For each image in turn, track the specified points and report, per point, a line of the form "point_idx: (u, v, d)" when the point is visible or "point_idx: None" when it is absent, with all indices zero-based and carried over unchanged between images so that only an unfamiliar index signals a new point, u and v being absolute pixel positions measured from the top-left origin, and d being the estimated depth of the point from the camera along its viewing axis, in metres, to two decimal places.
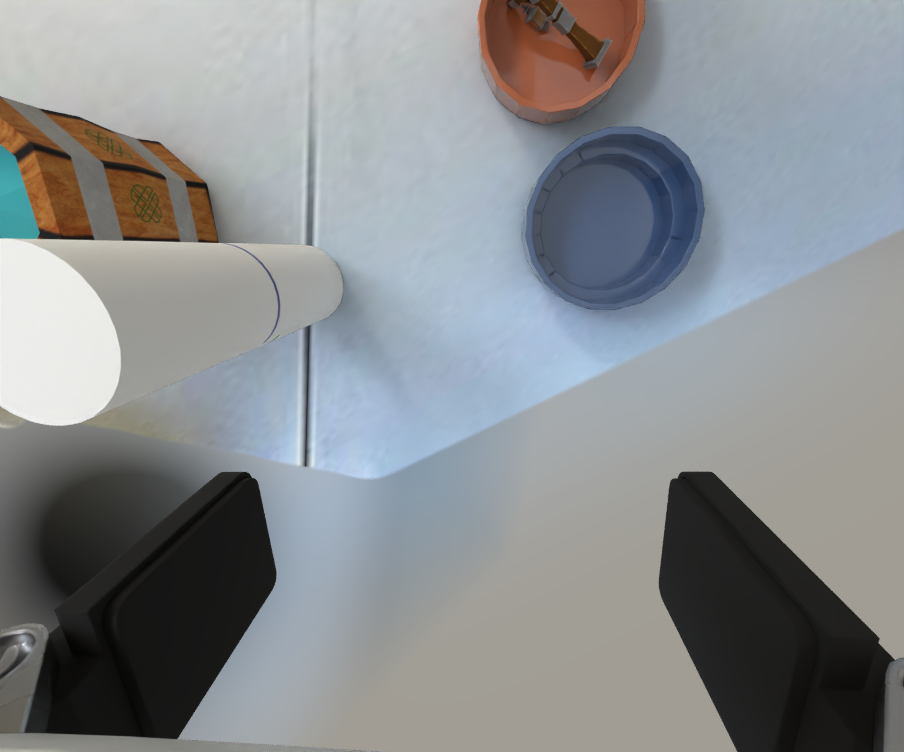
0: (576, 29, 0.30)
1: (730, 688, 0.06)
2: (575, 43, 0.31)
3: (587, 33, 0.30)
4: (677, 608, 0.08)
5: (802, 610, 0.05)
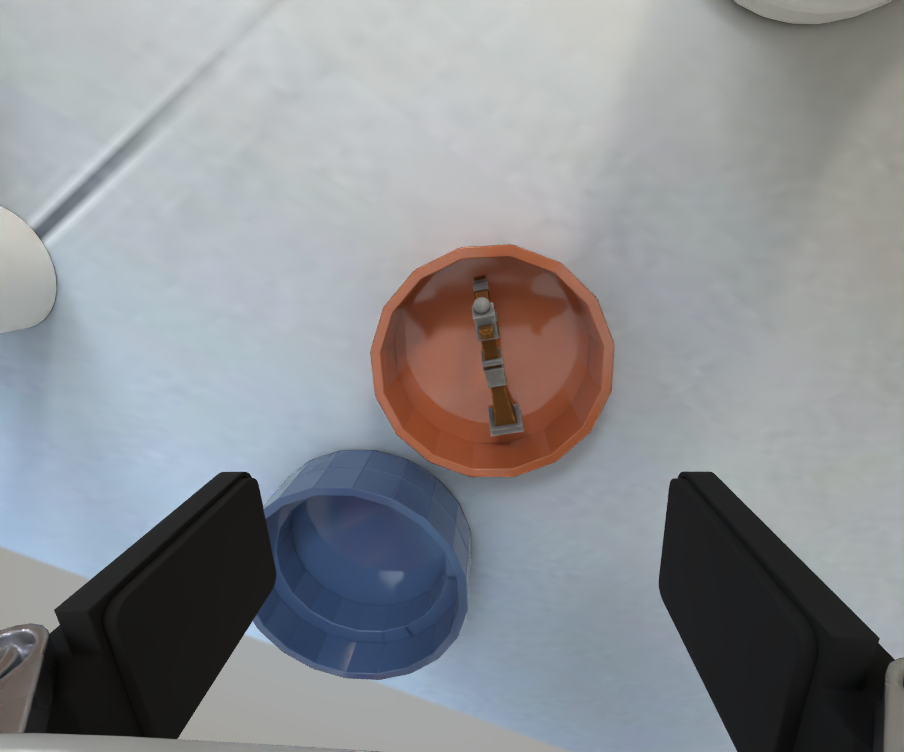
0: (499, 391, 0.21)
1: (730, 688, 0.06)
2: None
3: (507, 402, 0.21)
4: (677, 608, 0.08)
5: (802, 610, 0.05)
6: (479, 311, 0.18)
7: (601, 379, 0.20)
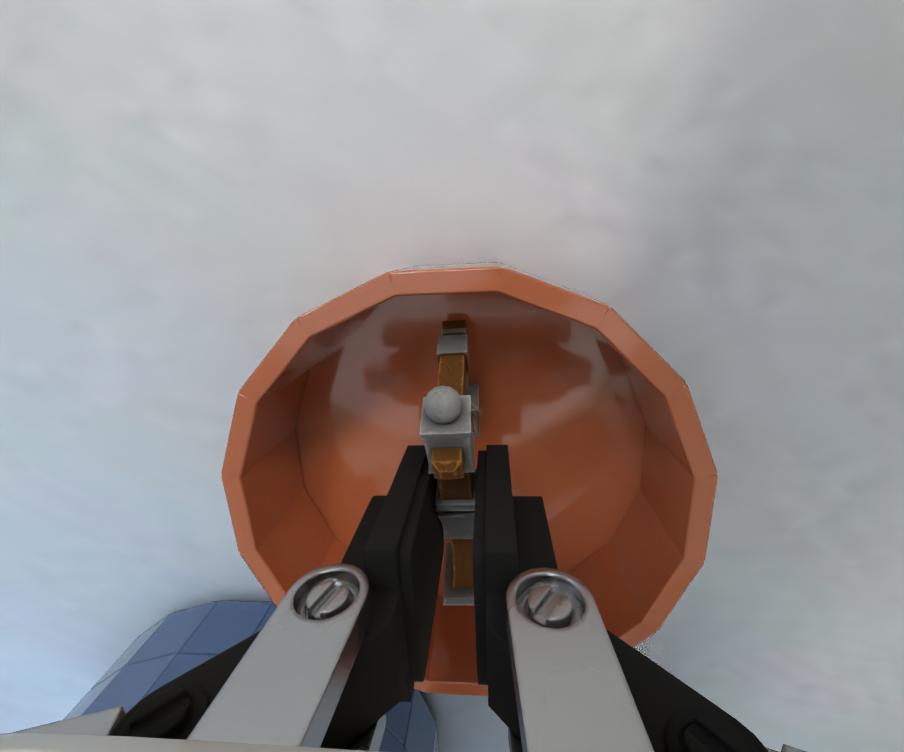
0: (466, 543, 0.11)
1: None
2: None
3: None
4: None
5: (485, 537, 0.07)
6: (435, 419, 0.08)
7: (685, 539, 0.10)
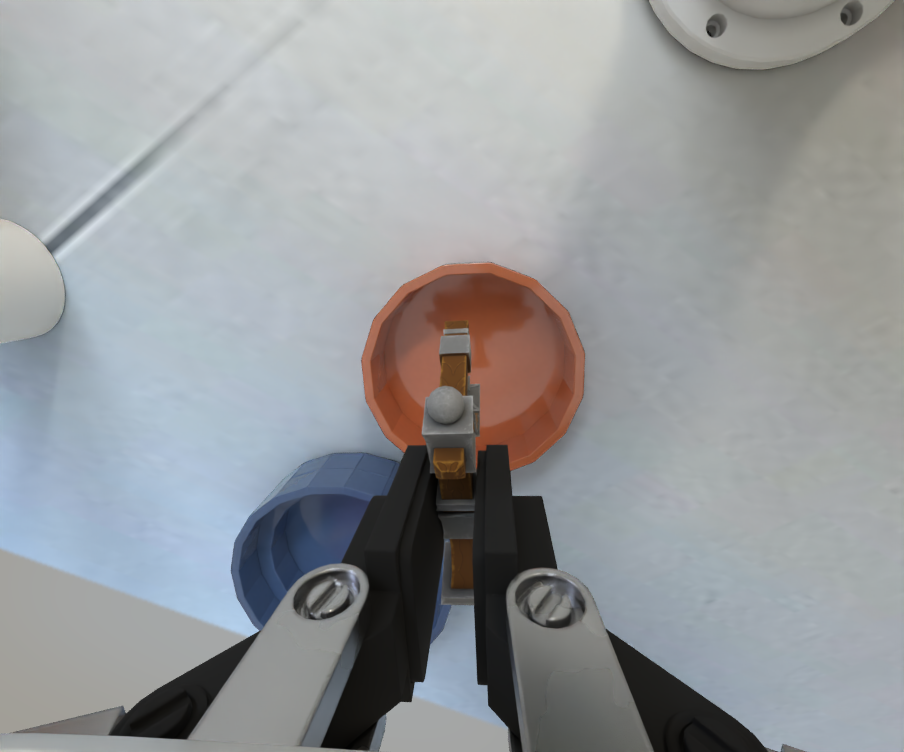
0: (465, 543, 0.11)
1: None
2: None
3: None
4: None
5: (484, 537, 0.07)
6: (438, 419, 0.08)
7: (574, 385, 0.21)
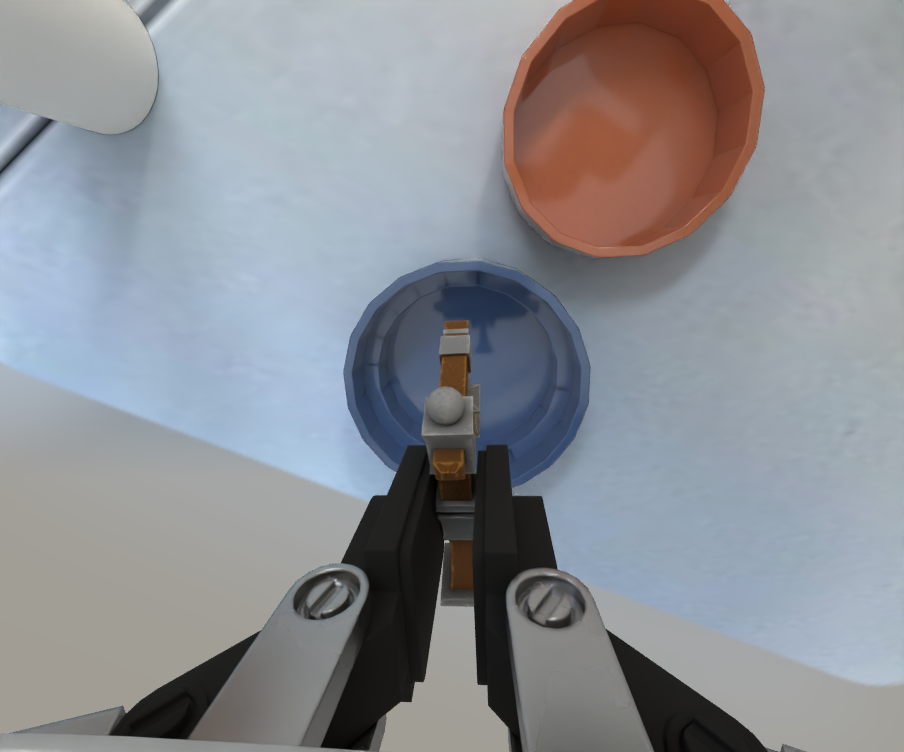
0: (465, 544, 0.11)
1: None
2: None
3: None
4: None
5: (484, 537, 0.07)
6: (438, 420, 0.08)
7: (746, 133, 0.19)
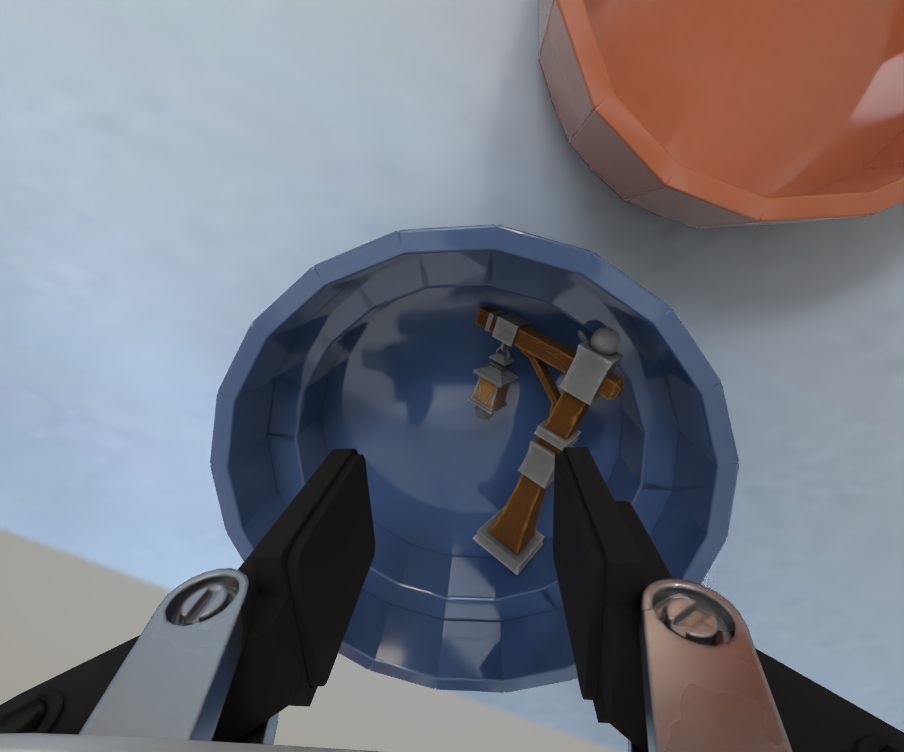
0: (544, 489, 0.13)
1: (574, 622, 0.08)
2: (517, 501, 0.13)
3: (540, 506, 0.13)
4: (558, 565, 0.10)
5: (601, 546, 0.06)
6: (613, 350, 0.10)
7: None
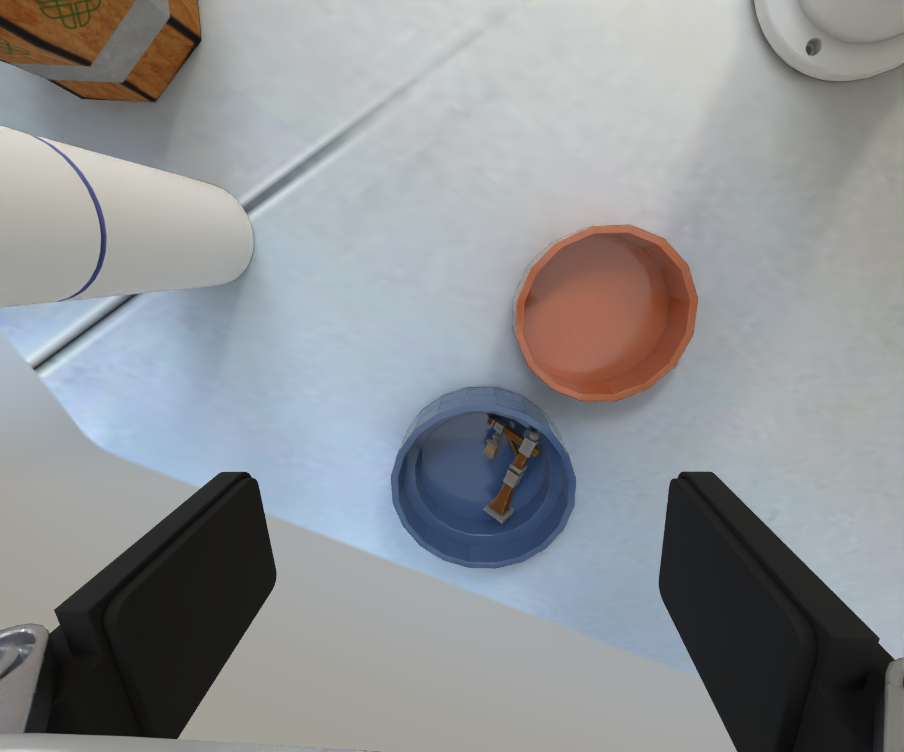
0: (513, 488, 0.32)
1: (730, 688, 0.06)
2: (502, 493, 0.32)
3: (511, 495, 0.32)
4: (677, 608, 0.08)
5: (802, 610, 0.05)
6: (536, 439, 0.30)
7: (686, 325, 0.27)
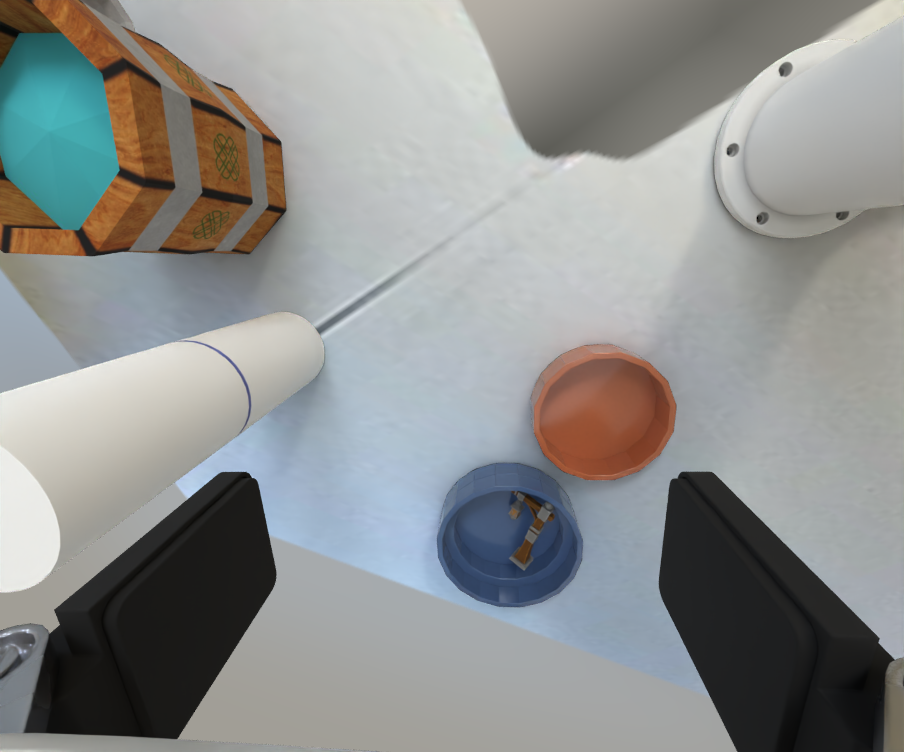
0: (533, 543, 0.40)
1: (730, 688, 0.06)
2: (524, 547, 0.40)
3: (531, 548, 0.40)
4: (677, 608, 0.08)
5: (802, 610, 0.05)
6: (551, 508, 0.37)
7: (668, 424, 0.34)
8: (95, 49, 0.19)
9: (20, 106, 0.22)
